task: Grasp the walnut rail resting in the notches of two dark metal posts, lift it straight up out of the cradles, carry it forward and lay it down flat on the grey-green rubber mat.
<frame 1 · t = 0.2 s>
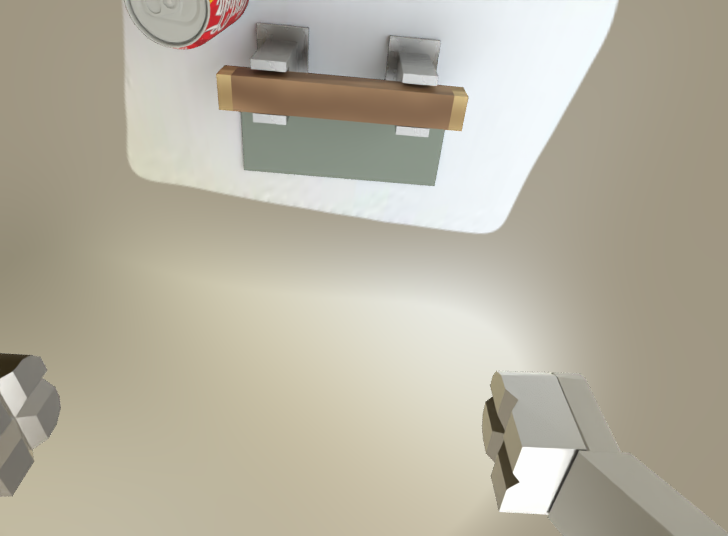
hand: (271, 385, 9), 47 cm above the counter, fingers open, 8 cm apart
mat: (342, 147, 56), on the counter
rail: (344, 93, 45), point 7 cm above the counter, touching post 2, post 1
post 2: (409, 79, 51), on the counter
post 1: (283, 67, 51), on the counter
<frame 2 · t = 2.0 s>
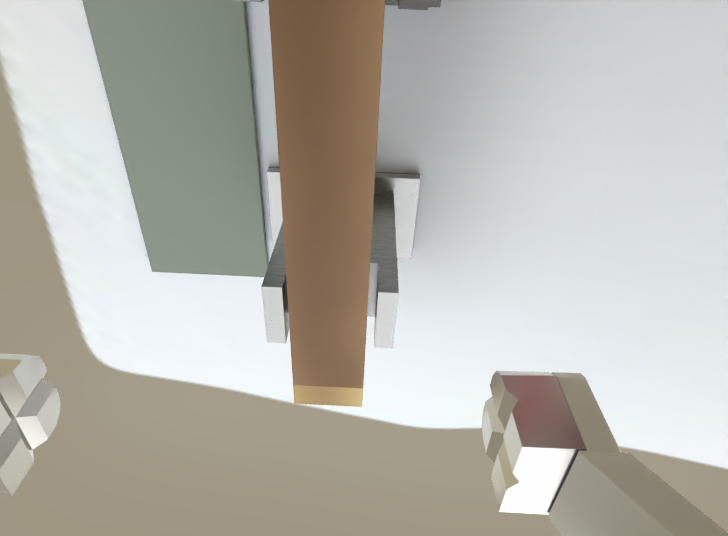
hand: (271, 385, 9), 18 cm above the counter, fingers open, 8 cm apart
mat: (180, 85, 24), on the counter
rail: (334, 149, 18), point 7 cm above the counter, touching post 2, post 1
post 2: (343, 212, 28), on the counter
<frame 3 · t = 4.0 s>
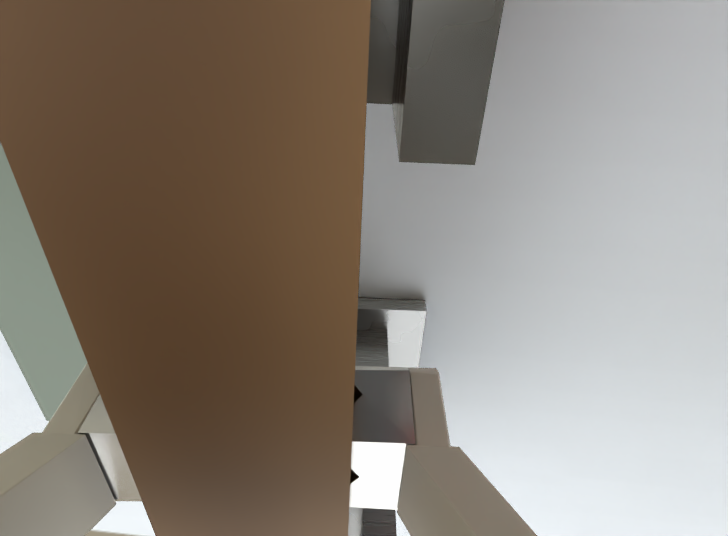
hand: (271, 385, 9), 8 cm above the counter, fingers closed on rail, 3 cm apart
mat: (51, 184, 15), on the counter
rail: (277, 357, 10), point 7 cm above the counter, touching gripper, post 2, post 1
post 2: (314, 347, 19), on the counter
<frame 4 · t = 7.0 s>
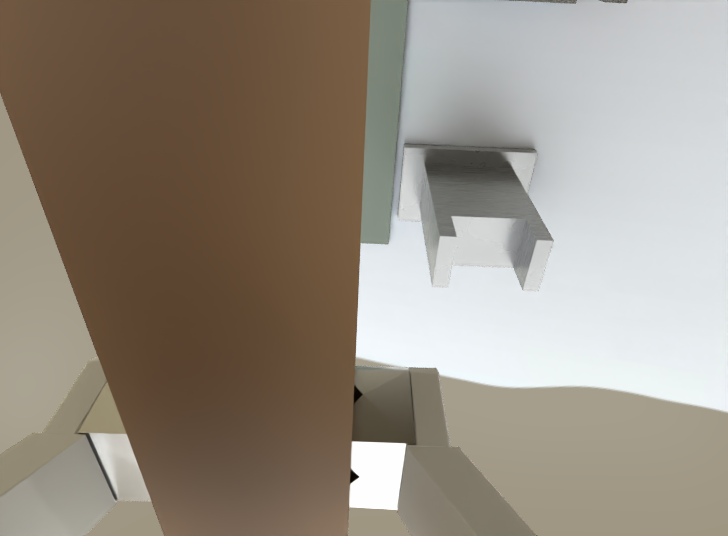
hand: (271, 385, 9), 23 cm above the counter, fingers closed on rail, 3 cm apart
mat: (339, 72, 28), on the counter
rail: (279, 352, 10), point 22 cm above the counter, touching gripper
post 2: (463, 184, 32), on the counter
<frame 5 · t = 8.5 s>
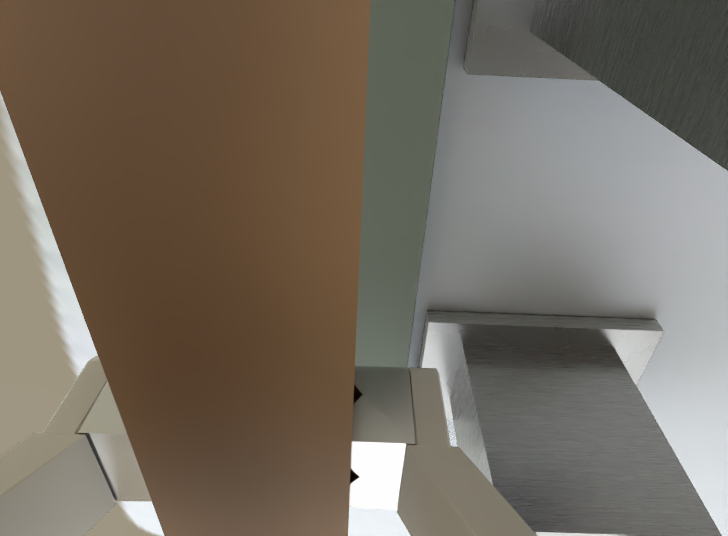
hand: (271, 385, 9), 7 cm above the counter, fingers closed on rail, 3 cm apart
mat: (308, 202, 15), on the counter
rail: (279, 352, 10), point 6 cm above the counter, touching gripper
post 2: (525, 365, 19), on the counter
when the fingers open (3 cm above the counter, at t = 9.9 s): rail stays where it is, resting on mat.
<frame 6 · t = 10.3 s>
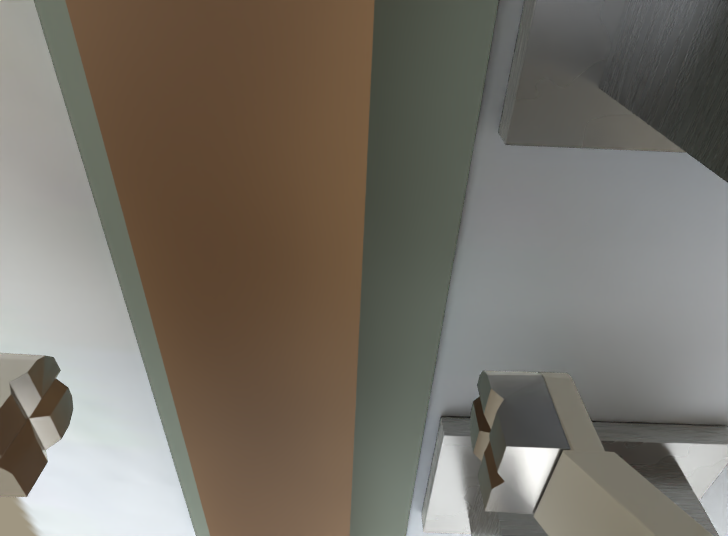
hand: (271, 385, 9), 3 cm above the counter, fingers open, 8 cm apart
mat: (288, 297, 11), on the counter
rail: (289, 311, 11), resting on mat
post 2: (561, 474, 15), on the counter
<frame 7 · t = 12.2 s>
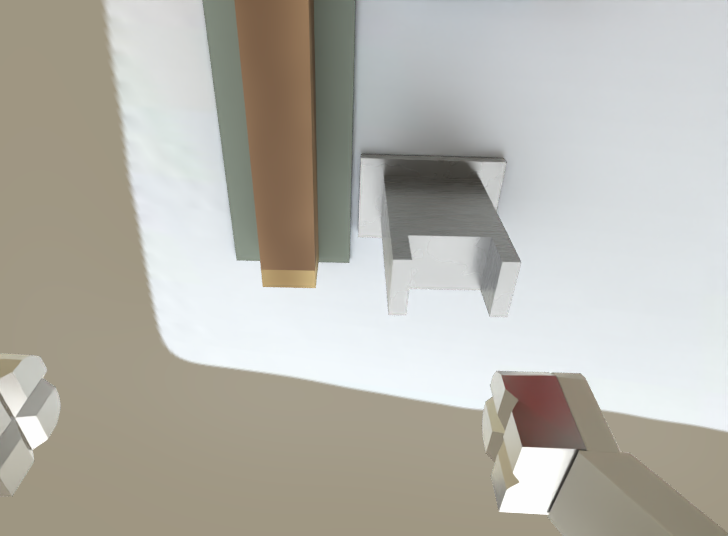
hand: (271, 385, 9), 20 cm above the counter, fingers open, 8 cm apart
mat: (284, 76, 25), on the counter
rail: (285, 79, 25), resting on mat
post 2: (427, 196, 29), on the counter
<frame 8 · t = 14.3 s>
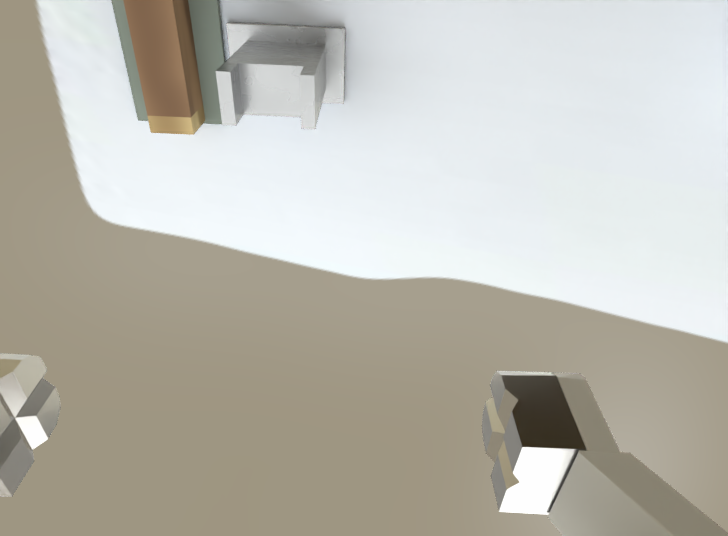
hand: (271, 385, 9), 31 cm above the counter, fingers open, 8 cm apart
post 2: (288, 63, 35), on the counter
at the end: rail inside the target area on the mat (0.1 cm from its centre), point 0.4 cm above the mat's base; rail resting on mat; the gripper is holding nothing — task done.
